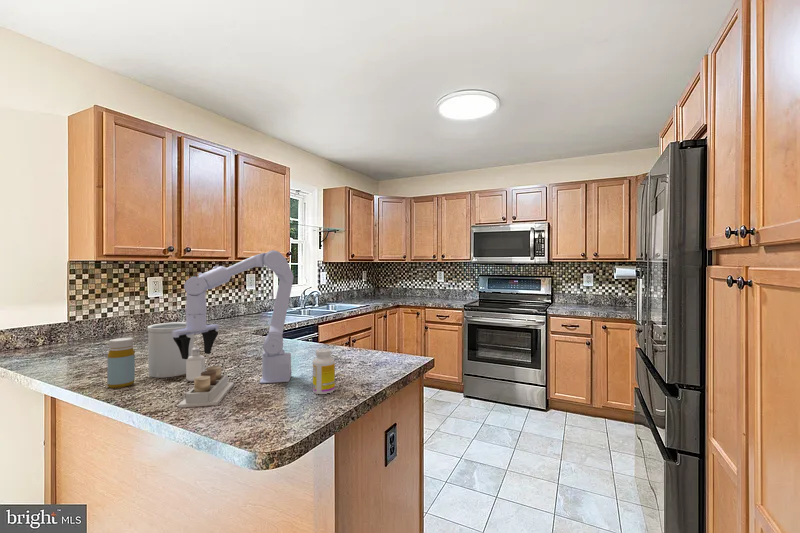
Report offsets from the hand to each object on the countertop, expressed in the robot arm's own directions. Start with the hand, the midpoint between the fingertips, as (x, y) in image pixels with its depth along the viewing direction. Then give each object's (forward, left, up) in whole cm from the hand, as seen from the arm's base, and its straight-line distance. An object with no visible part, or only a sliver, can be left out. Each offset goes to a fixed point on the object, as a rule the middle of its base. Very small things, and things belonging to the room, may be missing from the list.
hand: (196, 356), depth 117 cm
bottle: (+25, -7, -10) cm, 28 cm away
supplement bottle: (-40, +13, -10) cm, 44 cm away
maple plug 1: (-6, +15, -7) cm, 18 cm away
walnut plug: (-6, +9, -7) cm, 13 cm away
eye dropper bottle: (+3, -8, -10) cm, 13 cm away
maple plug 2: (-6, +4, -7) cm, 10 cm away
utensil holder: (+15, -20, -10) cm, 26 cm away
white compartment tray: (-6, +9, -10) cm, 15 cm away
